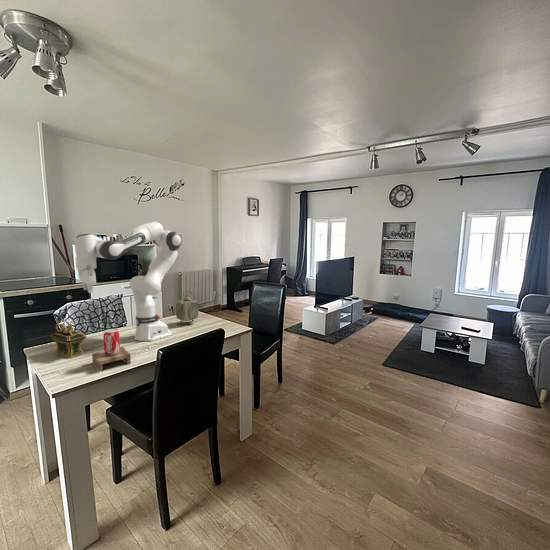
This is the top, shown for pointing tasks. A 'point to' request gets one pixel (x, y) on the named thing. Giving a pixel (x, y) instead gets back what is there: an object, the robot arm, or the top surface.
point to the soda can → (111, 341)
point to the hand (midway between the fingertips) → (88, 291)
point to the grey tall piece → (187, 309)
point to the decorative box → (68, 341)
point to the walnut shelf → (109, 358)
